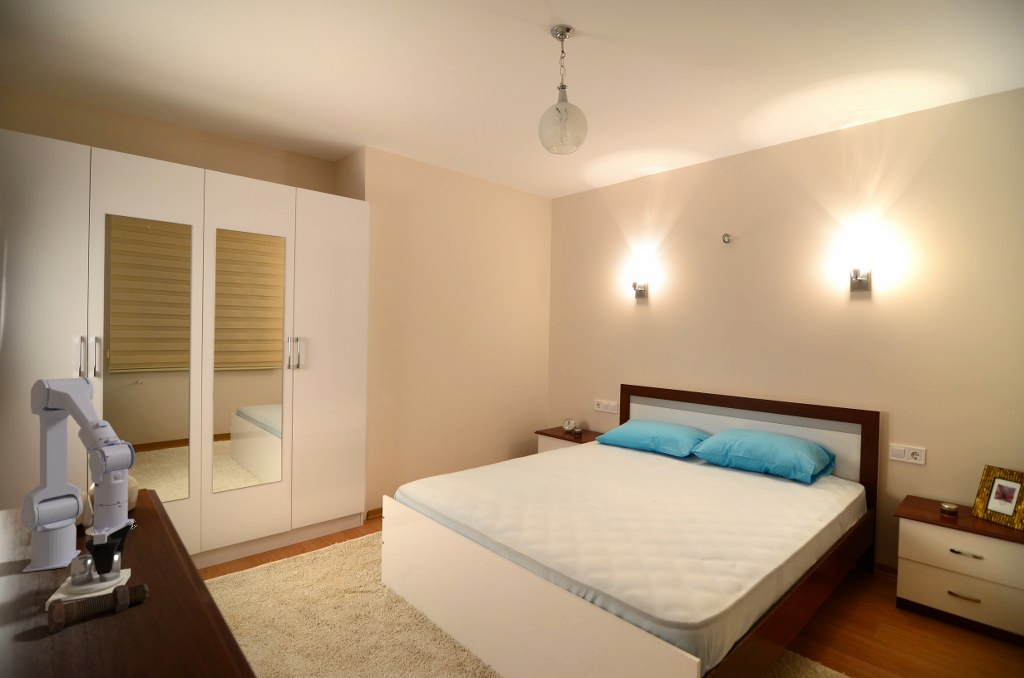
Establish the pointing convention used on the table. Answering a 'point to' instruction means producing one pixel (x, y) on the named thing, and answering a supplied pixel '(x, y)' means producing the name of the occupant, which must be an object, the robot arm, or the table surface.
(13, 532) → the table surface
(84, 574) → the spacer
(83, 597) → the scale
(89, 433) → the robot arm
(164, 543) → the table surface
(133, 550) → the table surface
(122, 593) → the bolt
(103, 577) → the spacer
